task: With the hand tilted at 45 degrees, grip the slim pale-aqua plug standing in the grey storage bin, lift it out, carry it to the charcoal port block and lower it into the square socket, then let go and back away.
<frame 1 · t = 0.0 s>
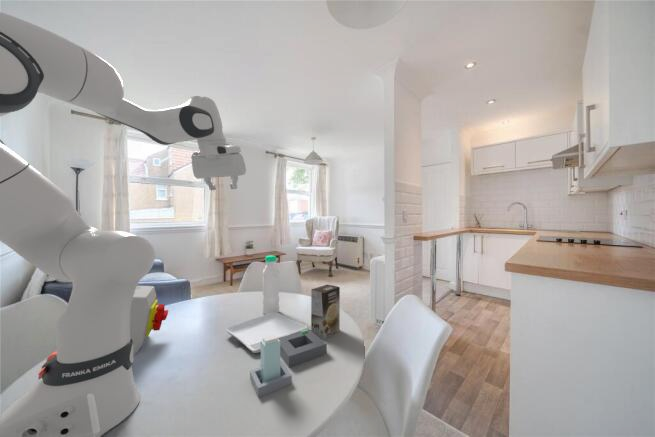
hand: (223, 189, 85), 52 cm above the table, tool tilted 20°, fingers open, 8 cm apart
grey storage bin: (270, 385, 59), on the table
plug: (270, 381, 59), point 1 cm above the table, touching grey storage bin
salad plate: (266, 337, 84), on the table
water bottle: (271, 313, 104), on the table
electrical switch box: (136, 345, 78), on the table
coffee box: (325, 332, 86), on the table
port: (300, 354, 72), on the table
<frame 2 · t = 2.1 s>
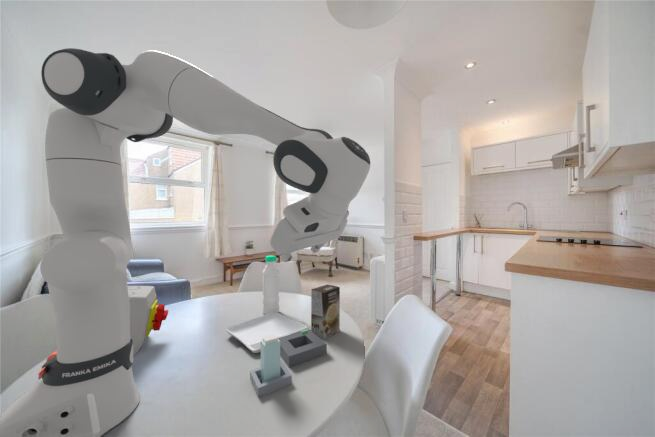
hand: (300, 255, 59), 32 cm above the table, tool tilted 40°, fingers open, 8 cm apart
nothing on the table moved.
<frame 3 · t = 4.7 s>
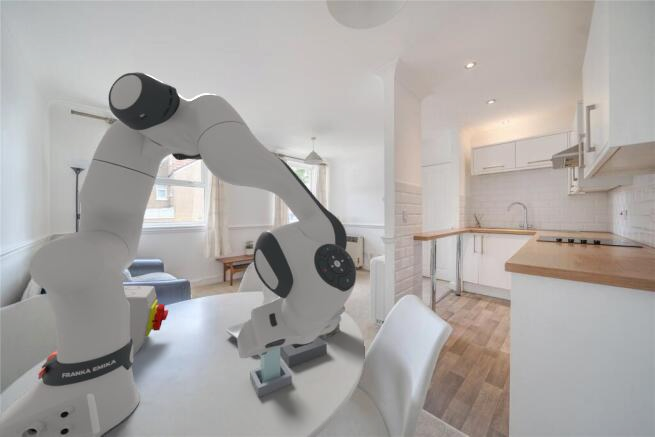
hand: (283, 344, 51), 14 cm above the table, tool tilted 45°, fingers open, 8 cm apart
nothing on the table moved.
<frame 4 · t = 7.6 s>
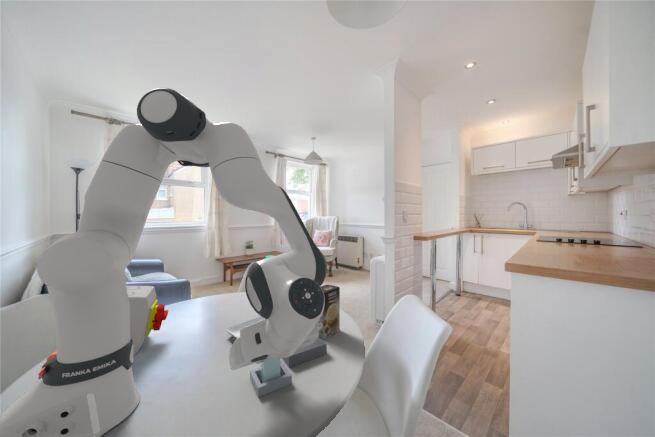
hand: (269, 356, 59), 7 cm above the table, tool tilted 45°, fingers closed on plug, 4 cm apart
plug: (270, 381, 59), point 1 cm above the table, touching gripper, grey storage bin
everything else where it was.
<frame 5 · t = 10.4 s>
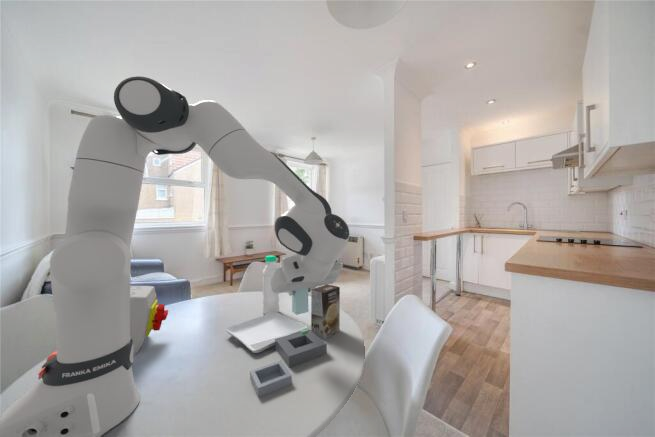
hand: (299, 291, 72), 19 cm above the table, tool tilted 45°, fingers closed on plug, 4 cm apart
plug: (300, 311, 72), point 13 cm above the table, touching gripper
everything else where it was.
when the fingers open (7 cm above the table, at t = 13.2 s): plug drops 2 cm, resting in port.
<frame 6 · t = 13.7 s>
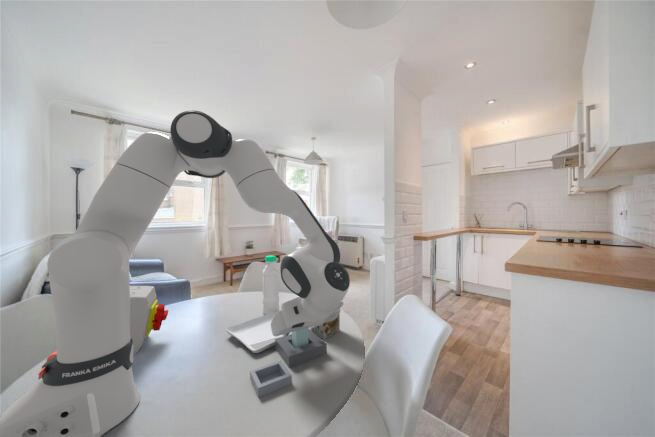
hand: (299, 329, 72), 7 cm above the table, tool tilted 45°, fingers open, 8 cm apart
plug: (300, 354, 72), resting in port
everything else where it was.
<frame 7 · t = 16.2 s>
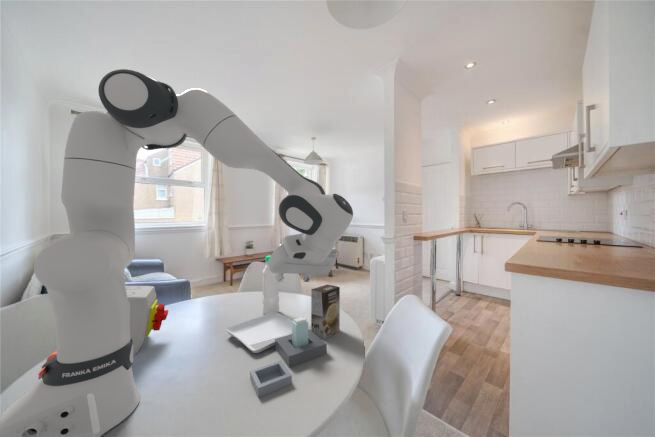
hand: (292, 280, 71), 23 cm above the table, tool tilted 40°, fingers open, 8 cm apart
nothing on the table moved.
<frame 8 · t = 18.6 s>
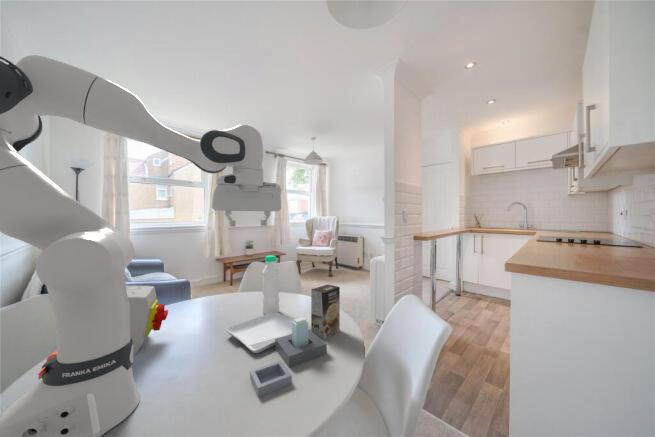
hand: (248, 226, 73), 39 cm above the table, tool pointing down, fingers open, 8 cm apart
nothing on the table moved.
at the end: plug 0.1 cm off-centre on the port, point 0.0 cm above the port's base; plug tilted 0°; the gripper is holding nothing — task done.
